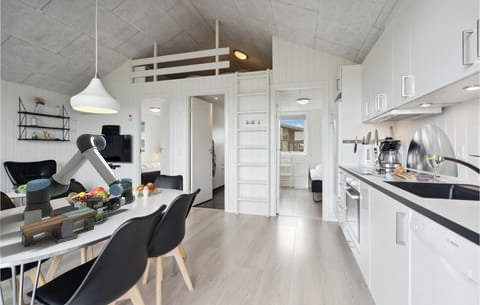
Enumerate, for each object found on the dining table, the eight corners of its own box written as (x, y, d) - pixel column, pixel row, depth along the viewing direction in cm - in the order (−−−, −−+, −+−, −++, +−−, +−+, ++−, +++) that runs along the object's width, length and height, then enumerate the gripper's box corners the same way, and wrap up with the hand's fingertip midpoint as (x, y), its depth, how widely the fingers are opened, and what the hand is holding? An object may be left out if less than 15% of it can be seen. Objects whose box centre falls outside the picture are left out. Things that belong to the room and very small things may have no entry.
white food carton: (41, 228, 122) (41, 210, 122) (24, 231, 117) (24, 212, 117) (40, 226, 125) (40, 208, 124) (24, 229, 120) (24, 211, 119)
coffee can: (106, 219, 138) (107, 197, 138) (92, 224, 128) (93, 201, 128) (93, 218, 140) (93, 196, 140) (78, 223, 130) (78, 199, 130)
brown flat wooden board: (20, 230, 105) (19, 226, 105) (86, 209, 127) (86, 206, 127) (27, 238, 96) (26, 233, 96) (97, 214, 119) (97, 210, 118)
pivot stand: (18, 239, 106) (18, 219, 106) (84, 224, 129) (85, 207, 129) (28, 251, 95) (28, 228, 94) (99, 232, 117) (99, 213, 117)
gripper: (131, 209, 149) (105, 218, 128) (101, 206, 155) (71, 215, 134) (131, 198, 149) (105, 205, 128) (101, 195, 154) (71, 202, 134)
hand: (88, 210), depth 131 cm, fingers open, 13 cm apart
